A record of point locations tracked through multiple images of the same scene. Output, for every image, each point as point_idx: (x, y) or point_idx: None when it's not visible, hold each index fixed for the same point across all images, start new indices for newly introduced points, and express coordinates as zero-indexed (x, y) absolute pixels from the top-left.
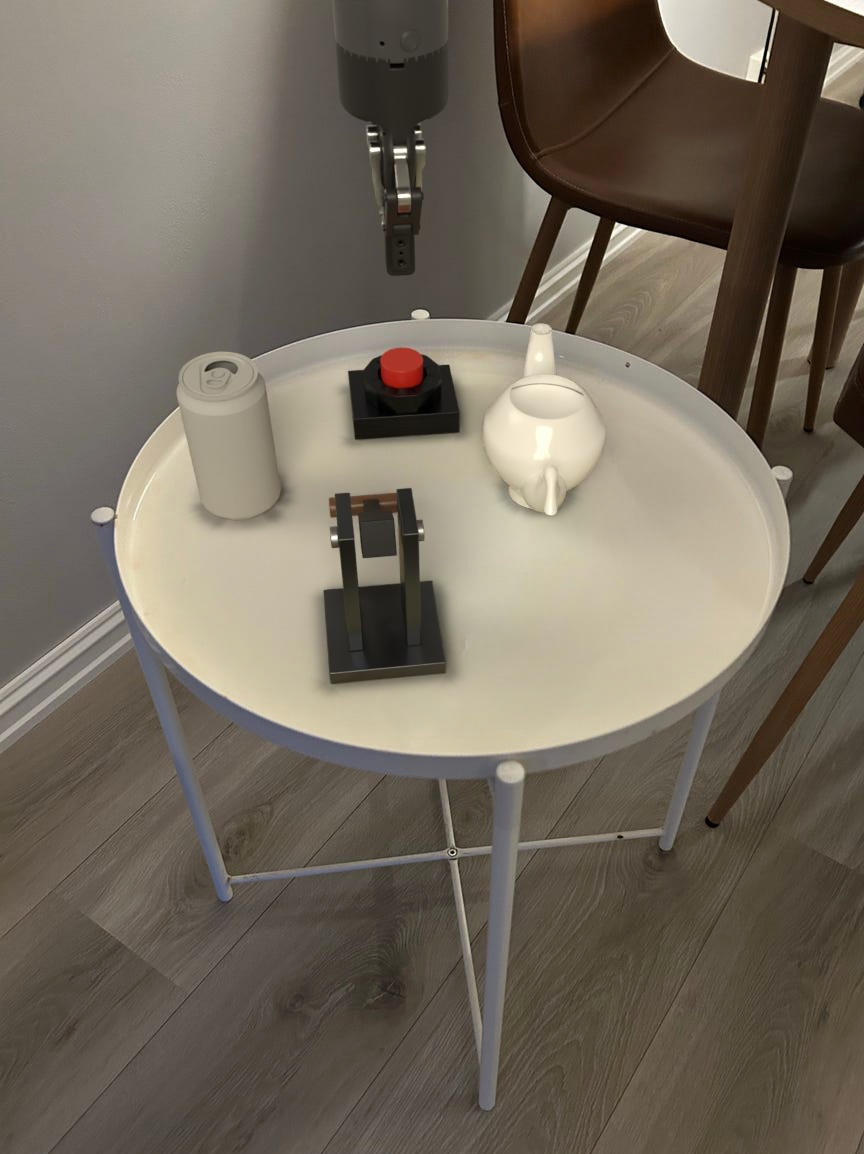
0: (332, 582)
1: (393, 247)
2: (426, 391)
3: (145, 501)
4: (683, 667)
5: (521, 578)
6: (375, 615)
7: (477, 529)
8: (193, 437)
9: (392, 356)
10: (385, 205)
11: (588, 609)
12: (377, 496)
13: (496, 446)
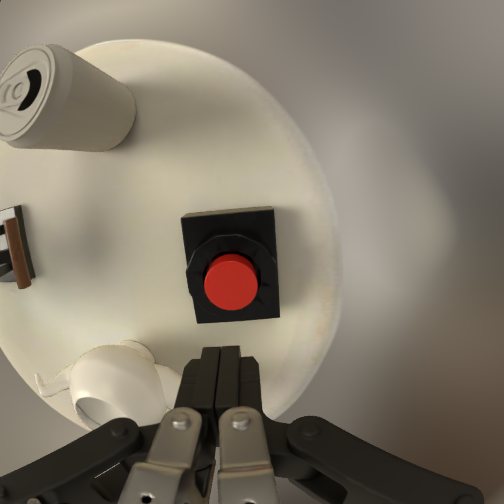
0: (32, 208)
1: (176, 398)
2: (198, 303)
3: (114, 44)
4: (36, 385)
5: (57, 332)
6: (3, 243)
7: (88, 313)
8: (34, 80)
9: (237, 276)
10: (48, 480)
11: (49, 360)
12: (13, 261)
13: (77, 363)
